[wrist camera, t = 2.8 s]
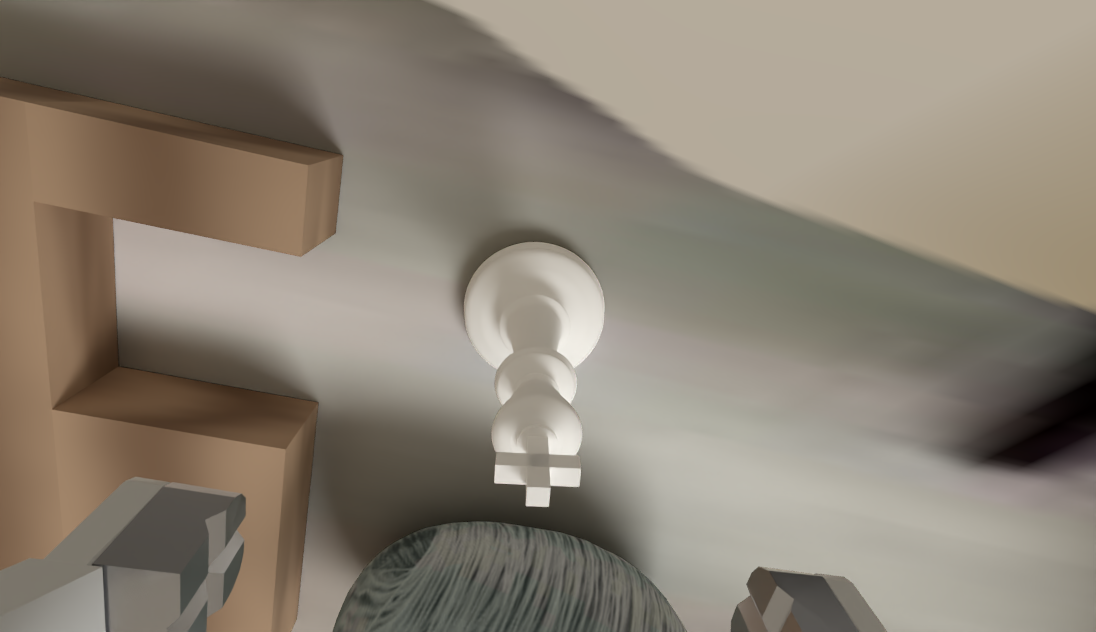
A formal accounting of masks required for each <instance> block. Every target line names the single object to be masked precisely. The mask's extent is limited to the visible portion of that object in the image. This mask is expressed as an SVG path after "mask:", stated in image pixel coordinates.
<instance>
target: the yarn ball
mask: <svg viewBox="0 0 1096 632" xmlns="http://www.w3.org/2000/svg"><path fill="white" fill-rule="evenodd" d="M333 632H687V631H686V629H685V627H684V626H683V624H682V622H681V621H680V619H679V618H678V616H677V614H676V613H675V611H674V610H673V608H672V607H671V605H670V604H669V602H668V601H667V599H666V598H665V597H664V596H663V594H662V593H661V592H660V591H659V590H658V589H657V587H656V586H655V585H654V584H653V583H652V582H651V581H650V580H649V579H648V578H647V577H646V576H644V575H643V574H642V573H641V572H640V571H639V570H637V569H636V568H635V567H633V566H632V565H631V564H630V563H628V562H627V561H626V560H624V559H622V558H620V557H619V556H617V555H615V554H613V553H611V552H609V551H606V550H604V549H602V548H600V547H598V546H596V545H594V544H592V543H590V542H588V541H586V540H583V539H580V538H577V537H574V536H571V535H568V534H564V533H561V532H557V531H551V530H544V529H538V528H532V527H526V526H520V525H514V524H507V523H500V522H479V521H475V522H455V523H449V524H444V525H439V526H433V527H427V528H424V529H421V530H419V531H416V532H414V533H412V534H410V535H408V536H406V537H404V538H402V539H400V540H398V541H396V542H394V543H393V544H391V545H389V546H388V547H387V548H385V549H384V550H383V551H381V552H380V553H379V554H378V555H377V556H376V557H375V558H374V559H373V560H372V561H371V562H370V563H369V564H368V565H367V566H366V567H365V568H364V570H363V571H362V573H361V574H360V576H359V577H358V578H357V580H356V581H355V583H354V584H353V586H352V587H351V589H350V590H349V592H348V594H347V596H346V598H345V601H344V603H343V605H342V608H341V610H340V612H339V615H338V617H337V620H336V623H335V626H334V629H333Z"/></svg>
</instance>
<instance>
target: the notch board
mask: <svg viewBox="0 0 1096 632" xmlns="http://www.w3.org/2000/svg"><path fill="white" fill-rule="evenodd" d="M342 164H343V155H341V154H336V153H332V152H327V151H323V150H319V149H314V148H310V147H305V146H301V145H297V144H292V143H288V142H283V141H279V140H275V139H270V138H266V137H262V136H257V135H253V134H248V133H244V132H240V131H235V130H231V129H226V128H222V127H218V126H213V125H209V124H205V123H200V122H196V121H191V120H187V119H183V118H178V117H174V116H169V115H165V114H161V113H156V112H152V111H147V110H143V109H139V108H134V107H130V106H126V105H121V104H117V103H112V102H108V101H104V100H99V99H95V98H90V97H86V96H82V95H77V94H73V93H68V92H64V91H60V90H55V89H51V88H47V87H42V86H38V85H33V84H29V83H25V82H20V81H16V80H11V79H7V78H3V77H0V571H1V570H3V569H5V568H8V567H10V566H13V565H15V564H17V563H20V562H22V561H24V560H27V559H29V558H34V559H44V558H45V557H46V556H47V555H48V554H49V553H50V552H51V551H52V550H53V549H54V548H55V547H56V546H57V545H58V544H59V543H60V542H62V541H63V540H64V539H65V538H66V537H67V536H68V535H69V534H70V533H71V532H72V531H73V530H74V529H75V528H76V527H77V526H78V525H79V524H80V523H81V522H82V521H83V520H84V519H86V518H87V517H88V516H89V515H90V514H91V513H92V512H93V511H94V510H95V509H96V508H97V507H98V506H99V505H100V504H101V503H102V502H103V501H104V500H105V499H106V498H107V497H108V496H110V495H111V494H112V493H113V492H114V491H115V490H116V489H117V488H118V487H119V486H120V485H121V484H122V483H123V482H125V481H126V480H129V479H131V478H134V477H141V478H147V479H153V480H159V481H165V482H170V483H172V482H175V483H181V484H187V485H194V486H200V487H206V488H212V489H218V490H224V491H230V492H236V493H242V494H243V495H244V496H245V497H246V516H245V518H244V519H243V521H242V522H241V524H240V526H239V527H238V529H237V531H238V532H239V533H240V535H241V536H242V537H243V539H244V553H243V558H242V563H241V568H240V571H239V574H238V576H237V579H236V581H235V584H234V587H233V589H232V591H231V593H230V595H229V597H228V599H227V600H226V602H225V604H224V606H223V608H221V609H220V610H218V611H216V612H215V613H213V614H212V615H210V616H209V617H207V630H206V632H291V631H292V628H293V626H294V624H295V622H296V620H297V612H298V602H299V592H300V582H301V572H302V562H303V553H304V543H305V533H306V523H307V513H308V503H309V493H310V483H311V473H312V463H313V453H314V443H315V433H316V423H317V413H318V402H313V401H307V400H302V399H296V398H290V397H285V396H279V395H274V394H268V393H263V392H257V391H252V390H246V389H241V388H235V387H230V386H224V385H219V384H213V383H207V382H202V381H196V380H191V379H185V378H180V377H174V376H169V375H163V374H158V373H152V372H147V371H141V370H135V369H130V368H124V367H119V366H118V341H117V316H116V291H115V265H114V240H113V218H117V219H121V220H126V221H131V222H136V223H141V224H146V225H150V226H155V227H160V228H165V229H170V230H175V231H179V232H184V233H189V234H194V235H199V236H203V237H208V238H213V239H218V240H223V241H228V242H232V243H237V244H242V245H247V246H252V247H257V248H261V249H266V250H271V251H276V252H281V253H286V254H290V255H295V256H300V257H301V256H303V255H304V254H306V253H307V252H309V251H310V250H312V249H313V248H315V247H316V246H317V245H319V244H320V243H322V242H323V241H325V240H326V239H328V238H329V237H331V236H332V235H334V234H335V233H336V223H337V213H338V203H339V194H340V184H341V174H342Z"/></svg>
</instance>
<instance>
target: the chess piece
mask: <svg viewBox="0 0 1096 632" xmlns="http://www.w3.org/2000/svg"><path fill="white" fill-rule="evenodd" d="M604 313H605V303H604V296H603V292H602V288H601V286H600V283H599V281H598V279H597V277H596V275H595V274H594V272H593V271H592V269H591V268H590V267H589V266H588V265H587V264H586V263H585V262H584V261H583V260H582V259H581V258H580V257H578V256H577V255H576V254H574V253H573V252H571V251H569V250H567V249H565V248H563V247H560V246H557V245H554V244H550V243H544V242H525V243H519V244H515V245H511V246H509V247H506V248H504V249H502V250H500V251H498V252H496V253H494V254H493V255H492V256H490V257H489V258H488V259H486V260H485V261H484V262H483V263H482V264H481V265H480V266H479V268H478V269H477V270H476V272H475V273H474V275H473V276H472V278H471V280H470V282H469V284H468V287H467V290H466V293H465V298H464V320H465V326H466V330H467V334H468V336H469V339H470V341H471V343H472V345H473V347H474V348H475V350H476V351H477V352H478V354H479V355H480V356H481V357H482V358H483V359H484V360H485V361H486V362H487V363H488V364H490V365H491V366H492V367H494V368H495V369H497V373H496V376H495V391H496V395H497V397H498V399H499V401H500V403H501V405H502V407H501V409H500V410H499V411H498V413H497V415H496V417H495V419H494V421H493V425H492V430H491V438H492V444H493V447H494V449H495V451H496V461H495V477H494V483H497V484H520V485H526V506H537V507H549V500H550V489H551V486H567V487H579V486H580V477H581V462H580V456H576V454H577V452H578V450H579V448H580V445H581V442H582V435H583V432H582V425H581V421H580V419H579V416H578V414H577V413H576V411H575V410H574V408H573V407H572V406H571V405H570V404H571V402H572V400H573V398H574V396H575V393H576V389H577V377H576V373H575V370H574V367H576V366H577V365H579V364H580V363H581V362H582V361H583V360H584V359H586V357H587V356H588V355H589V354H590V353H591V352H592V350H593V349H594V347H595V346H596V344H597V342H598V340H599V338H600V335H601V332H602V329H603V324H604Z"/></svg>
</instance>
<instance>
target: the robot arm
mask: <svg viewBox="0 0 1096 632" xmlns="http://www.w3.org/2000/svg"><path fill="white" fill-rule="evenodd" d="M245 516H246V497H245V496H244V495H243V494H242V493H236V492H230V491H224V490H218V489H212V488H206V487H200V486H194V485H187V484H181V483H175V482H172V483H170V482H165V481H159V480H153V479H147V478H141V477H134V478H131V479H129V480H126V481H125V482H123V483H122V484H121V485H120V486H119V487H118V488H117V489H116V490H115V491H114V492H113V493H112V494H111V495H110V496H108V497H107V498H106V499H105V500H104V501H103V502H102V503H101V504H100V505H99V506H98V507H97V508H96V509H95V510H94V511H93V512H92V513H91V514H90V515H89V516H88V517H87V518H86V519H84V520H83V521H82V522H81V523H80V524H79V525H78V526H77V527H76V528H75V529H74V530H73V531H72V532H71V533H70V534H69V535H68V536H67V537H66V538H65V539H64V540H63V541H62V542H60V543H59V544H58V545H57V546H56V547H55V548H54V549H53V550H52V551H51V552H50V553H49V554H48V555H47V556H46V557H45V558H44V559H34V558H29V559H27V560H24V561H22V562H20V563H17V564H15V565H13V566H10V567H8V568H5V569H3V570H1V571H0V632H206V630H207V617H209V616H210V615H212V614H213V613H215V612H216V611H218V610H220V609H221V608H223V606H224V604H225V602H226V600H227V599H228V597H229V595H230V593H231V591H232V589H233V587H234V584H235V581H236V579H237V576H238V574H239V571H240V568H241V563H242V558H243V553H244V539H243V537H242V536H241V535H240V533H239V532H238V531H237V529H238V527H239V526H240V524H241V522H242V521H243V519H244V518H245ZM747 587H748V590H749V592H750V596H749V597H748V598H746V599H745V600H743V601H742V602H740V603H739V604H737V607H736V609H735V612H734V615H733V617H732V620H731V632H887V631H886V629H885V628H884V626H883V625H882V624H881V622H880V621H879V619H878V618H877V617H876V615H875V614H874V612H873V611H872V610H871V608H870V607H869V605H868V604H867V603H866V601H865V600H864V598H863V597H862V596H861V594H860V593H859V591H858V590H857V589H856V587H855V586H854V584H853V583H852V582H850V581H849V580H847V579H846V578H845V577H841V576H833V575H824V574H811V573H804V572H797V571H789V570H782V569H774V568H767V567H758V568H757V569H755V570H754V571H753V572H752V573H751V575H750V578H749V580H748V582H747Z"/></svg>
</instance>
